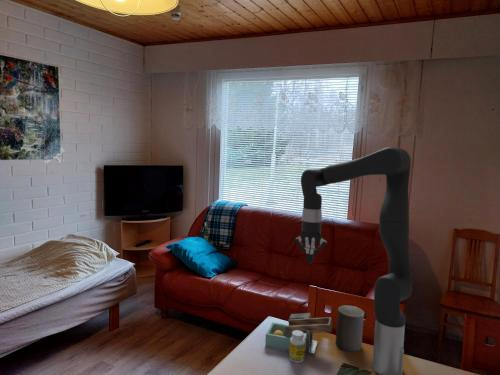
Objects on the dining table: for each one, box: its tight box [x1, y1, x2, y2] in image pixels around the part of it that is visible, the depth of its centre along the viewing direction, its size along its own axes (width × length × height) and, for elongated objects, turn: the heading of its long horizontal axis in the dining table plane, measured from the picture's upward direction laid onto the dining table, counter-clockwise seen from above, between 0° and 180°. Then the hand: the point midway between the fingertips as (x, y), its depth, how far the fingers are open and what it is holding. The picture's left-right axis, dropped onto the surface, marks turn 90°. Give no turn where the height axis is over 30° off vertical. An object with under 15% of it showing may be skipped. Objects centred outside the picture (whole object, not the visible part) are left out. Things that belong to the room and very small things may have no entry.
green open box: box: [264, 322, 292, 353], centre depth 139 cm, size 10×10×5 cm
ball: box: [273, 330, 284, 336], centre depth 140 cm, size 4×4×4 cm
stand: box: [304, 329, 318, 357], centre depth 136 cm, size 5×9×9 cm, turn 162°
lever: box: [285, 312, 334, 334], centre depth 140 cm, size 18×15×3 cm
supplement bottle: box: [288, 330, 306, 364], centre depth 129 cm, size 5×5×10 cm
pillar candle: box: [334, 304, 365, 352], centre depth 139 cm, size 10×10×15 cm
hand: (309, 262), depth 146 cm, fingers closed
